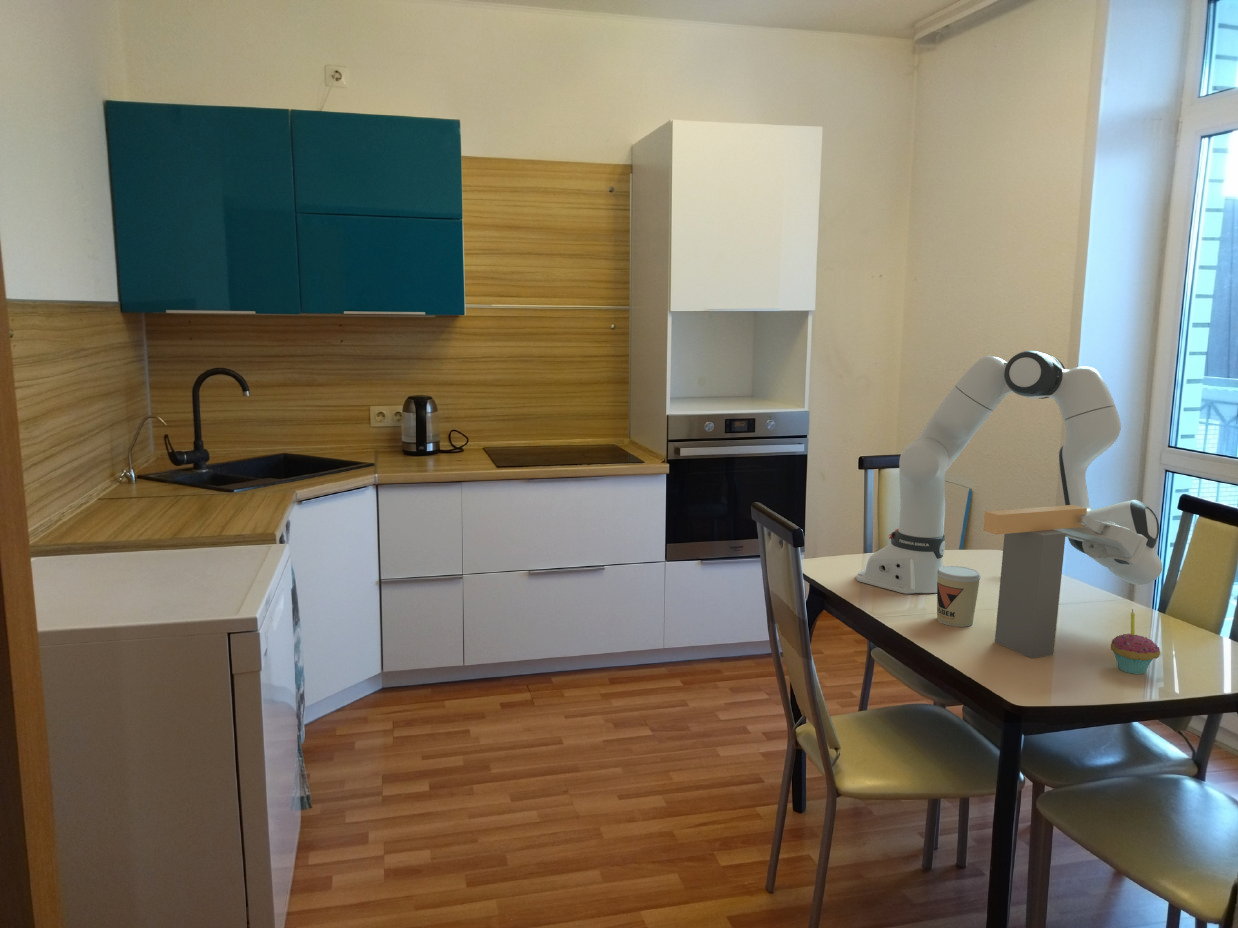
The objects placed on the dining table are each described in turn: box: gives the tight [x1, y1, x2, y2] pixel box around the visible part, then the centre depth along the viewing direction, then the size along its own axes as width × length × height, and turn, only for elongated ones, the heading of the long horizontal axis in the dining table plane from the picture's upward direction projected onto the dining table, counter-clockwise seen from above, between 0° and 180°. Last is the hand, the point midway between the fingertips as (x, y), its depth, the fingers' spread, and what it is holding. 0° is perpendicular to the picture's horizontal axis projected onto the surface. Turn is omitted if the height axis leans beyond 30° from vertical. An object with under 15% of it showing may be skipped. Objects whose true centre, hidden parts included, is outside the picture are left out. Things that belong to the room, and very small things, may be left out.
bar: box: [982, 504, 1087, 536], centre depth 183 cm, size 24×4×4 cm, turn 111°
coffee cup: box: [936, 565, 982, 628], centre depth 204 cm, size 9×9×12 cm
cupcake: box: [1110, 608, 1161, 675], centre depth 176 cm, size 9×8×12 cm
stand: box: [994, 530, 1066, 659], centre depth 186 cm, size 6×10×26 cm, turn 21°
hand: (1067, 514), depth 187 cm, fingers open, 5 cm apart
